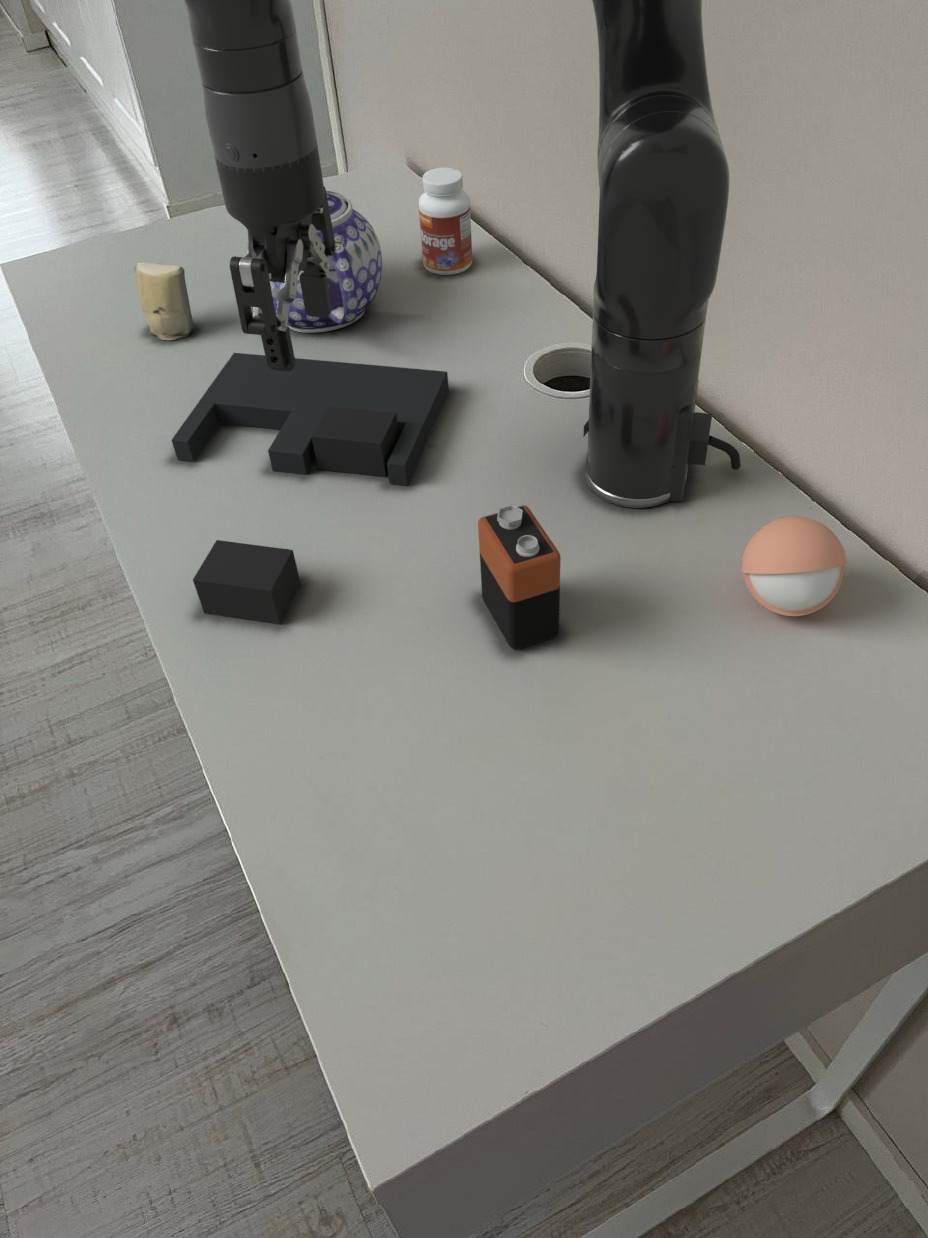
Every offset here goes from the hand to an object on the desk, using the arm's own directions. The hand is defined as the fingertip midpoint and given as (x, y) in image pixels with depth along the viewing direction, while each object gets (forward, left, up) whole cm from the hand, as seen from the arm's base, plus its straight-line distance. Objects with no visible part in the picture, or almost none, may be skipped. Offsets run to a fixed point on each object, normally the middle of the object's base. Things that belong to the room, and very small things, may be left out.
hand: (301, 340), depth 86 cm
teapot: (+12, -32, -16) cm, 38 cm away
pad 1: (+2, +15, -16) cm, 22 cm away
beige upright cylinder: (+28, -25, -16) cm, 41 cm away
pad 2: (-1, -6, -16) cm, 17 cm away
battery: (-21, +13, -16) cm, 30 cm away
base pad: (+5, -10, -16) cm, 20 cm away
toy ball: (-42, +7, -16) cm, 46 cm away
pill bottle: (0, -45, -16) cm, 48 cm away
